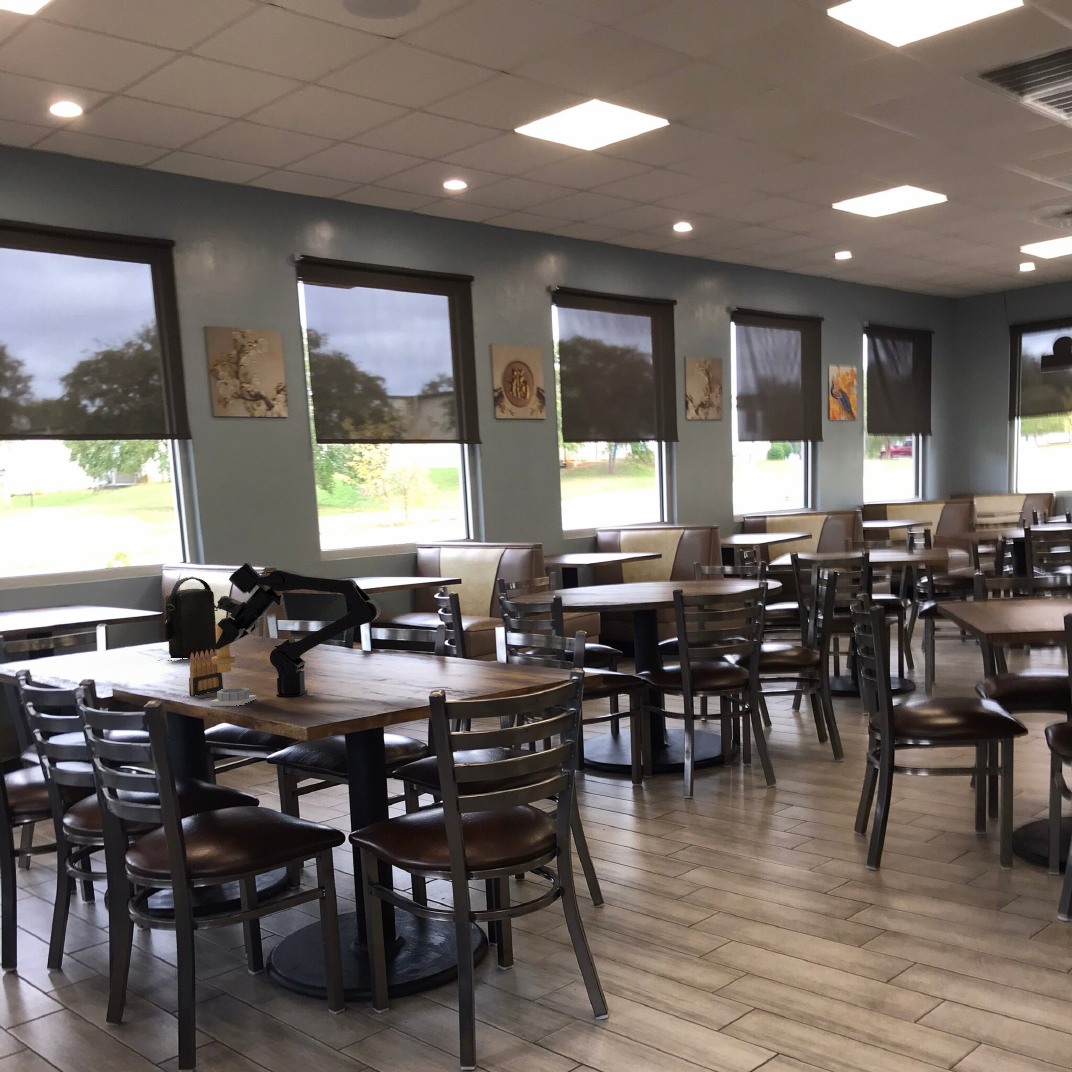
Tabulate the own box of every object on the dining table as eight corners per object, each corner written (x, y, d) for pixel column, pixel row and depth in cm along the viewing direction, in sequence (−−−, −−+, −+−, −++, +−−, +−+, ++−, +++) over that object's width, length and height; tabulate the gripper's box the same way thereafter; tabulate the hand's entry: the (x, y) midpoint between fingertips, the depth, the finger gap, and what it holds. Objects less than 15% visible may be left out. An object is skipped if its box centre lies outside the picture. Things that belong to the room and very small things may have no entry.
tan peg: (240, 669, 285) (238, 622, 284) (229, 673, 278) (227, 625, 278) (219, 669, 286) (217, 622, 285) (207, 673, 280) (205, 625, 279)
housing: (256, 699, 277) (255, 687, 277) (241, 705, 268) (240, 693, 268) (226, 699, 278) (226, 687, 278) (210, 705, 270) (209, 693, 270)
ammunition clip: (193, 696, 285) (191, 653, 285) (189, 696, 286) (187, 652, 286) (223, 689, 294) (221, 647, 294) (218, 689, 295) (216, 647, 295)
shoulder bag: (175, 661, 353) (171, 579, 352) (157, 660, 358) (153, 579, 357) (225, 652, 373) (221, 574, 372) (207, 651, 377) (203, 574, 376)
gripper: (245, 582, 291) (208, 623, 291) (223, 588, 272) (183, 631, 273) (274, 609, 291) (237, 650, 291) (254, 617, 272) (215, 660, 273)
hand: (218, 647), depth 282 cm, fingers closed on tan peg, 4 cm apart
